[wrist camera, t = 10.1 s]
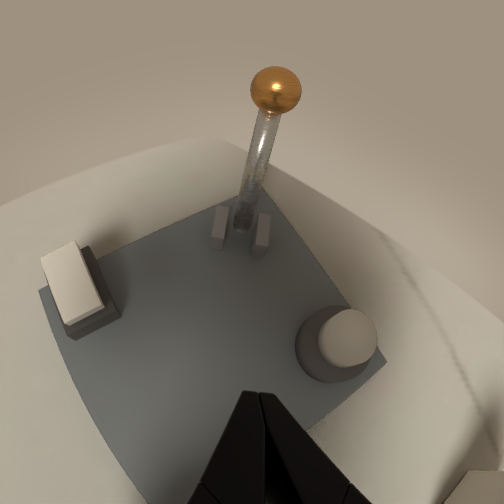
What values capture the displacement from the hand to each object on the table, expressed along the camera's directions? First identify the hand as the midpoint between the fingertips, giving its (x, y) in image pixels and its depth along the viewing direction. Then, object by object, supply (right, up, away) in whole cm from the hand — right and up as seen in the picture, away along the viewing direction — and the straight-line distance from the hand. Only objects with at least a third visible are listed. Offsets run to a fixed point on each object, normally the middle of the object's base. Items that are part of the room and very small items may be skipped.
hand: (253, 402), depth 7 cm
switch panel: (-3, -2, +12) cm, 12 cm away
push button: (+5, -2, +10) cm, 12 cm away
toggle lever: (-1, +5, +13) cm, 14 cm away
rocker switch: (-10, +2, +8) cm, 13 cm away
